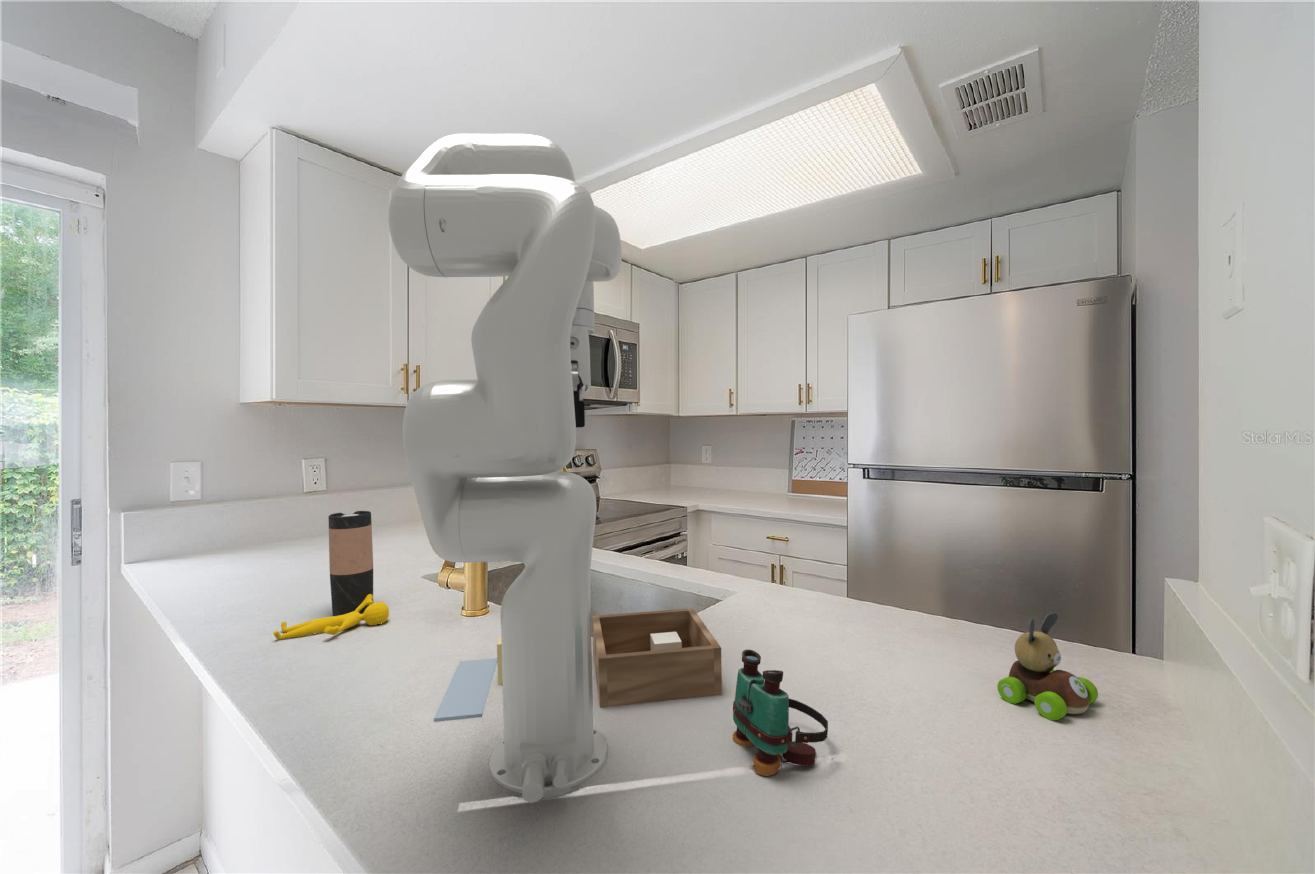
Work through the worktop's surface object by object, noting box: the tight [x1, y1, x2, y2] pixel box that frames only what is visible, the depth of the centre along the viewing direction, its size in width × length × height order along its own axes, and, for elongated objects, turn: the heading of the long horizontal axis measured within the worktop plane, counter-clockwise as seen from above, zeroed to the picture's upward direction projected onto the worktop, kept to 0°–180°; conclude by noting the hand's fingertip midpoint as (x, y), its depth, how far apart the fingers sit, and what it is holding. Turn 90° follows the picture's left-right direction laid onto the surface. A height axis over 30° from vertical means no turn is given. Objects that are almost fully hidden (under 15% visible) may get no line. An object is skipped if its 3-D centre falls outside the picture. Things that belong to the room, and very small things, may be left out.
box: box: [591, 607, 723, 708], centre depth 79 cm, size 16×16×7 cm
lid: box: [433, 635, 503, 723], centre depth 78 cm, size 17×17×7 cm
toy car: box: [997, 611, 1099, 721], centre depth 70 cm, size 9×9×11 cm
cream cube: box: [650, 632, 682, 651], centre depth 82 cm, size 4×4×4 cm
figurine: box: [273, 594, 390, 640], centre depth 101 cm, size 14×5×18 cm
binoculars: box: [732, 649, 829, 776], centre depth 61 cm, size 9×11×10 cm
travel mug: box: [328, 510, 374, 616], centre depth 110 cm, size 8×8×20 cm
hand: (574, 427), depth 91 cm, fingers open, 9 cm apart
